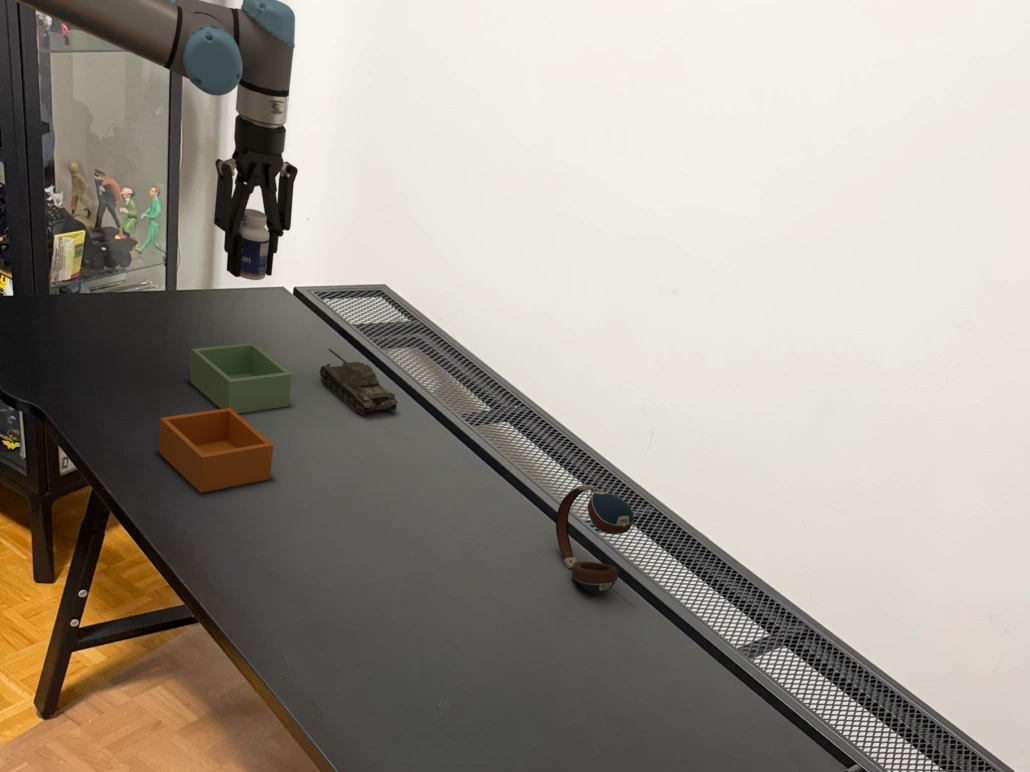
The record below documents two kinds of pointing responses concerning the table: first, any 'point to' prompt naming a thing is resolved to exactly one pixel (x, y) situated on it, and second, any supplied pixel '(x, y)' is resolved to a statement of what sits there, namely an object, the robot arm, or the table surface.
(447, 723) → the table surface
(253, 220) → the pill bottle
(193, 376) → the green bin
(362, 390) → the toy tank
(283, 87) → the robot arm
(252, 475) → the amber bin
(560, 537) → the headphones
